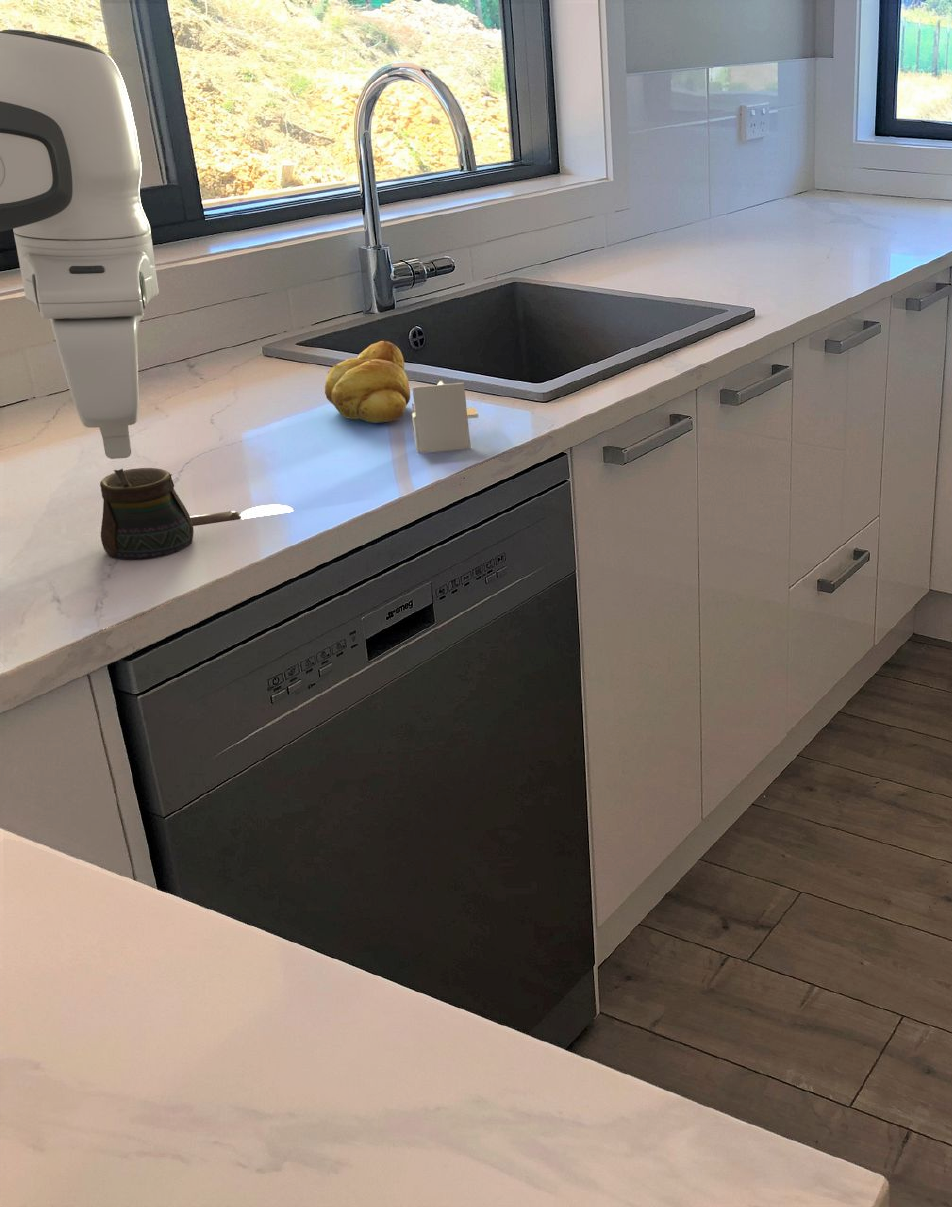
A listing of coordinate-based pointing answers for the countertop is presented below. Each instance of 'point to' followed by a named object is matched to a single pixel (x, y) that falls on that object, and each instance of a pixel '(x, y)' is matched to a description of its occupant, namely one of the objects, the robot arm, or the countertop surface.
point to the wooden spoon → (236, 516)
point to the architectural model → (441, 417)
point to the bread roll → (370, 384)
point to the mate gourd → (143, 515)
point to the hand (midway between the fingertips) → (118, 453)
